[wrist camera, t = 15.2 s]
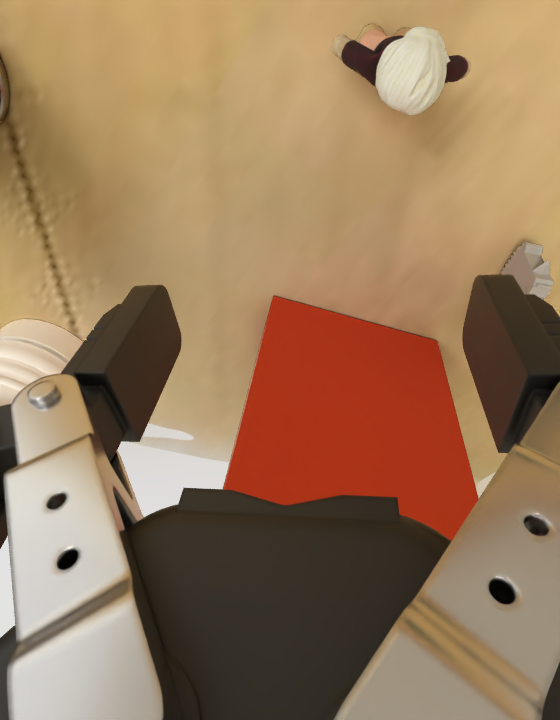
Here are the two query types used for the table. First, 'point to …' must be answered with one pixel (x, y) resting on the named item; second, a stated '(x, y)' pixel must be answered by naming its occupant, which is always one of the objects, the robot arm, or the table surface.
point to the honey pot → (32, 354)
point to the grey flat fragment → (530, 270)
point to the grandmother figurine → (402, 65)
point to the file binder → (351, 419)
